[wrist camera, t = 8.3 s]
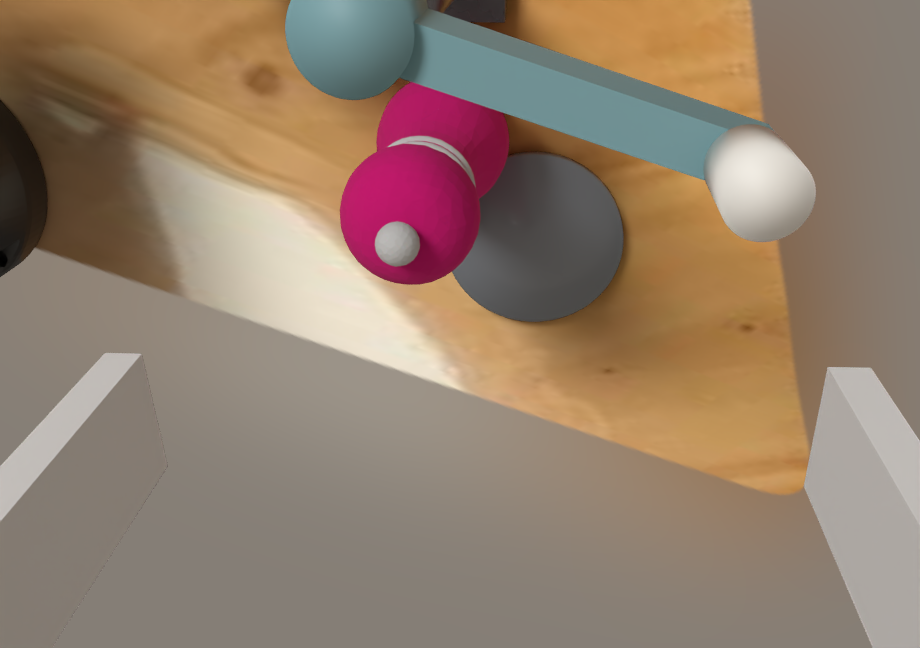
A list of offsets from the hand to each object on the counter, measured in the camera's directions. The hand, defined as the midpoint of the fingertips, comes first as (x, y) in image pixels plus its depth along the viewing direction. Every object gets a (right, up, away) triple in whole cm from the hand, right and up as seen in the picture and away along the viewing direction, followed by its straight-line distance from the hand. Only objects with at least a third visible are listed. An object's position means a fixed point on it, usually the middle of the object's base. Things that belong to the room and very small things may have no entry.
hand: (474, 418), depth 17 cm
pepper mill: (-1, +14, +34) cm, 37 cm away
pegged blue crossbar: (+2, +10, +11) cm, 15 cm away
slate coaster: (+4, +7, +37) cm, 38 cm away
